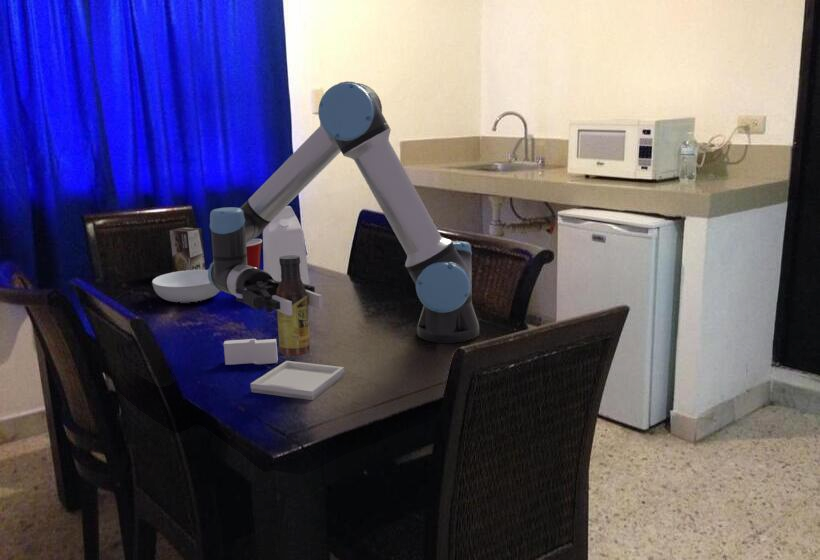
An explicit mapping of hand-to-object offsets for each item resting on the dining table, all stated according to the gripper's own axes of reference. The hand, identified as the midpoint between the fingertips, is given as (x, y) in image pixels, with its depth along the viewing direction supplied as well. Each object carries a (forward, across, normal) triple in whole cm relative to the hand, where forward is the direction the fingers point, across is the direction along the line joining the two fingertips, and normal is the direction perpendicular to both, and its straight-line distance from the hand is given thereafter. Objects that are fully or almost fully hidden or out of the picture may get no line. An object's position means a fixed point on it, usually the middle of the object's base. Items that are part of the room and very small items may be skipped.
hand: (305, 305), depth 144 cm
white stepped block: (-23, +1, -19) cm, 30 cm away
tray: (-5, 0, -18) cm, 18 cm away
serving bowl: (-87, -11, -18) cm, 90 cm away
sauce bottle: (-5, 0, -11) cm, 12 cm away
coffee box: (-119, -24, -18) cm, 123 cm away
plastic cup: (-103, -38, -18) cm, 111 cm away
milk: (-76, -38, -18) cm, 87 cm away
